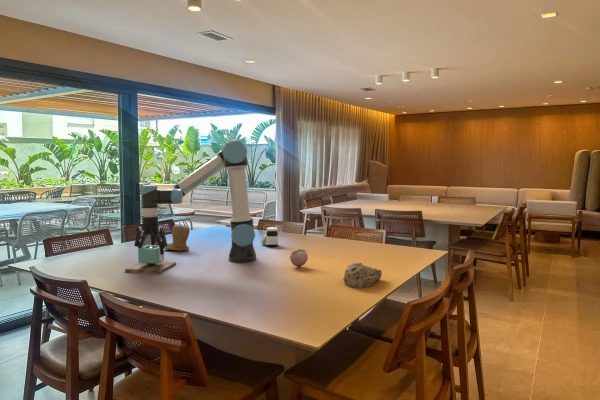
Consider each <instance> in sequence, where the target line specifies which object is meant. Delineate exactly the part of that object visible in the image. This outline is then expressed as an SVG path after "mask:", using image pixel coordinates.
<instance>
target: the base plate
mask: <svg viewBox="0 0 600 400" xmlns="http://www.w3.org/2000/svg"><path fill="white" fill-rule="evenodd" d="M176 265H177V262H176V261H164V260H162V261H160V262H157V263H156V265H155V266H147V263H136V264H134V265H131V266H129V267H127V268H125V269H124V272H125V273H134V274H135V273H138V274H139V273H140V274H163V273H164V272H165V271H168V270H169V269H171V268H172V267H173V268H174V267H175V266H176Z"/></svg>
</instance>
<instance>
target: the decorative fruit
mask: <svg viewBox="0 0 600 400" xmlns="http://www.w3.org/2000/svg"><path fill="white" fill-rule="evenodd" d="M307 252H308V251H307V250H306V249H302V248H301V249H296V250H293V251H292V252H291V253H290V256H289V259H290V262H291V264H292V265H293V266H295V267H297V268H301V267H303V266H304V265H305V264H306V263H307V261H308V259H309V256H308V253H307Z"/></svg>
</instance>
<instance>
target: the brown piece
mask: <svg viewBox="0 0 600 400" xmlns="http://www.w3.org/2000/svg"><path fill="white" fill-rule="evenodd" d="M171 234H172V235H171V236H172V237H171V238H172V243H167V246H166V247H164V250H168V251H169V250H170V251H180V252H181V251H187V250H189V249H190V246H188V245H187V241H188V238H189V235H190V227H189V226H183V225H182V226H181V225H174V226H172V230H171Z"/></svg>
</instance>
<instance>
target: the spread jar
mask: <svg viewBox="0 0 600 400" xmlns="http://www.w3.org/2000/svg"><path fill="white" fill-rule="evenodd" d="M278 231H279V230H278V227H275V226H273V227H272V226H271V227H267V228H266V234H264V235H263V236H262V237H261V240H260V243H261V245H263V246H265V245H266V247H268V248H275V247H278V246H279V232H278Z"/></svg>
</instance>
